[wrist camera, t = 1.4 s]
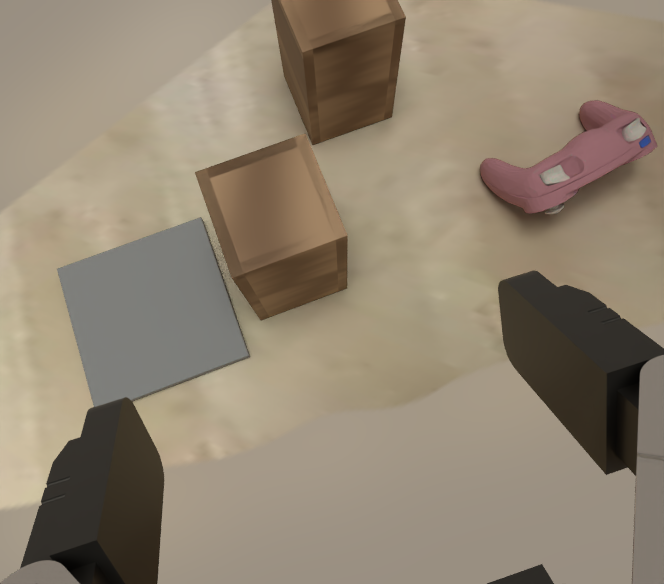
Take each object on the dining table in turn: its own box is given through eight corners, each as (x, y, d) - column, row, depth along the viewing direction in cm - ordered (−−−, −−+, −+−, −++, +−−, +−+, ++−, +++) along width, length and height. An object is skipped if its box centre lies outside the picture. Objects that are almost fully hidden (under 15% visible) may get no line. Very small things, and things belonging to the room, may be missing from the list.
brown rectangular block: (315, 208, 40) (305, 133, 30) (347, 288, 38) (347, 235, 29) (232, 239, 39) (194, 172, 30) (260, 320, 38) (232, 277, 28)
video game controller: (495, 224, 41) (553, 228, 34) (469, 165, 40) (522, 157, 33) (609, 158, 42) (687, 149, 35) (586, 99, 41) (661, 78, 34)
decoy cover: (360, 49, 43) (364, -66, 33) (391, 117, 41) (405, 17, 32) (283, 75, 42) (265, -33, 33) (312, 144, 41) (302, 52, 31)
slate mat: (203, 220, 40) (200, 217, 39) (250, 356, 37) (248, 355, 37) (61, 271, 39) (56, 268, 38) (99, 413, 37) (95, 413, 36)
